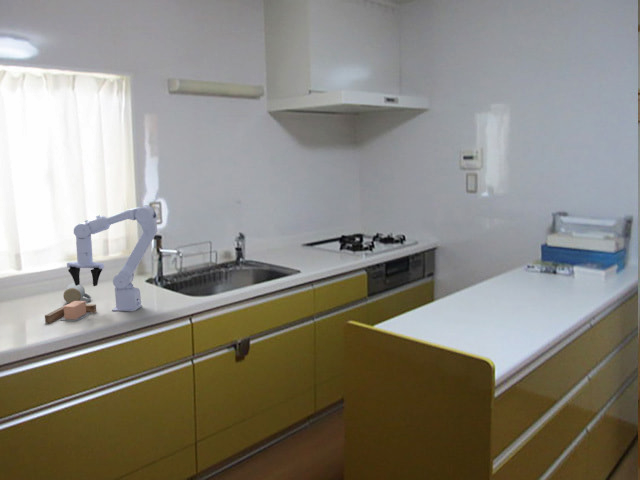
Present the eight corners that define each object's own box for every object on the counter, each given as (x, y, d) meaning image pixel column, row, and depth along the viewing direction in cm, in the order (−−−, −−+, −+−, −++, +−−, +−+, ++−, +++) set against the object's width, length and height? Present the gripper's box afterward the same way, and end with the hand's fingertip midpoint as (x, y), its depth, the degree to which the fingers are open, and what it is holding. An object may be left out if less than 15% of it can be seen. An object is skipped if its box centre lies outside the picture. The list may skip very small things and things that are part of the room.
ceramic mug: (63, 305, 234) (62, 287, 233) (66, 300, 242) (65, 282, 241) (89, 303, 237) (88, 286, 235) (92, 298, 244) (91, 281, 243)
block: (75, 319, 213) (74, 306, 212) (64, 319, 213) (63, 306, 212) (86, 313, 221) (85, 301, 220) (75, 312, 221) (74, 300, 220)
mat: (90, 313, 222) (90, 312, 222) (77, 321, 212) (77, 319, 212) (74, 312, 223) (74, 311, 222) (60, 320, 213) (60, 319, 213)
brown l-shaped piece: (96, 311, 224) (95, 304, 224) (75, 323, 208) (74, 316, 208) (68, 310, 225) (67, 303, 225) (45, 323, 210) (44, 315, 209)
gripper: (61, 253, 219) (64, 287, 222) (96, 255, 218) (98, 288, 220) (71, 250, 226) (73, 282, 228) (105, 251, 225) (107, 284, 227)
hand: (86, 285), depth 225 cm, fingers open, 7 cm apart
